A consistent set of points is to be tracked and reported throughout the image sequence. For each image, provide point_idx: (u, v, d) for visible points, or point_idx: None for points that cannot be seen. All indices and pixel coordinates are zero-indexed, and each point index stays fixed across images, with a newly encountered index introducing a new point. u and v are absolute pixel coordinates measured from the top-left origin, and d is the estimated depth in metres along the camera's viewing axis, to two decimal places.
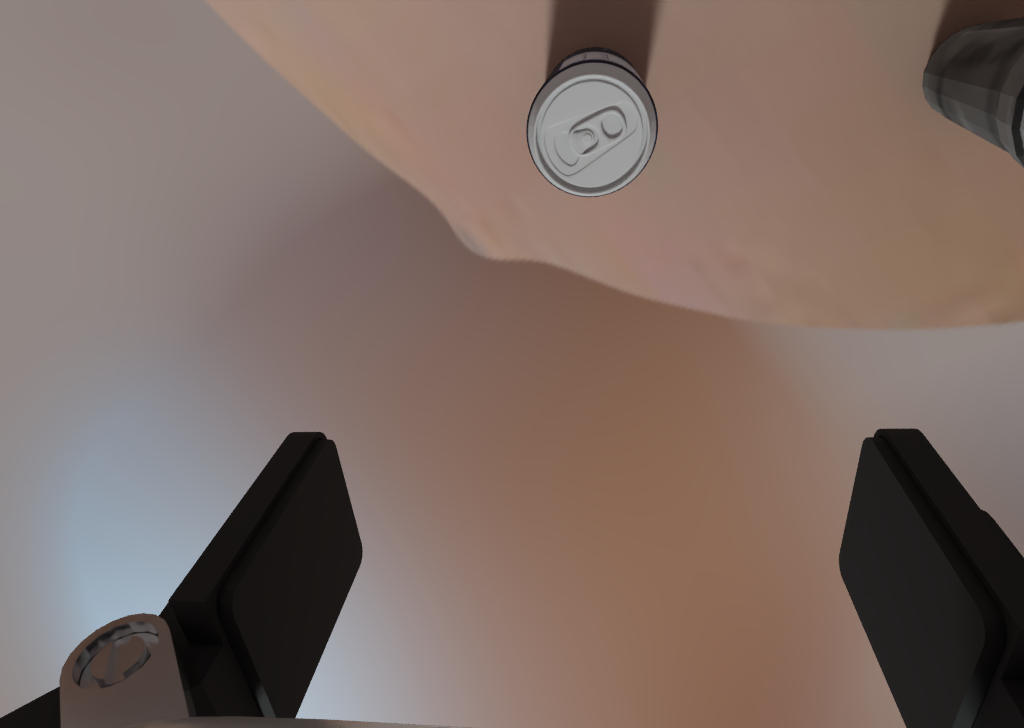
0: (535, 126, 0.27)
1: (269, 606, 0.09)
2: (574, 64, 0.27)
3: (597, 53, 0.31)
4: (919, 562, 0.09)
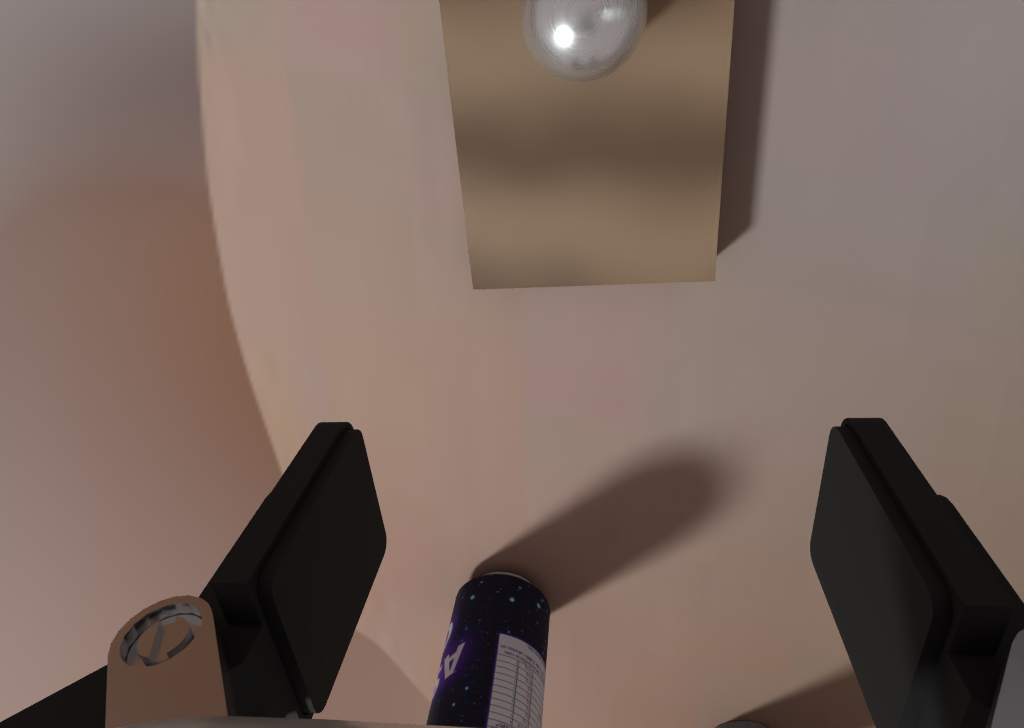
0: None
1: (304, 590, 0.09)
2: None
3: (527, 668, 0.33)
4: (878, 545, 0.09)
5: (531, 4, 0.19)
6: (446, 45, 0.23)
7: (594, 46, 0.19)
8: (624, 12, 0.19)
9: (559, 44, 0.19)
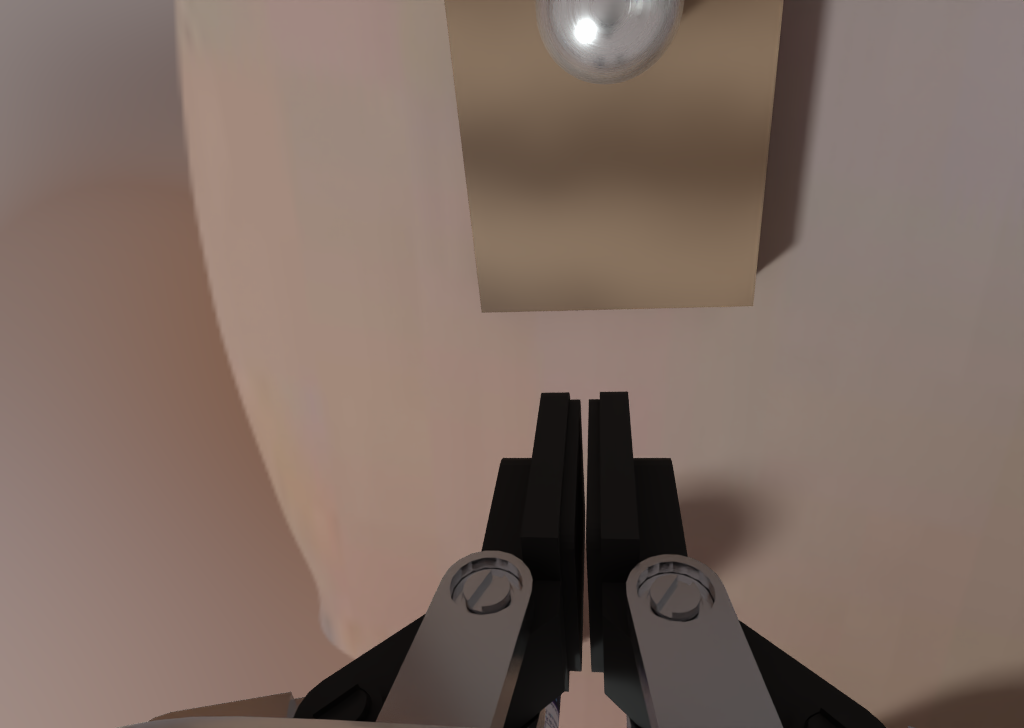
0: None
1: (577, 549, 0.10)
2: None
3: None
4: None
5: None
6: (451, 41, 0.20)
7: (621, 43, 0.16)
8: (658, 2, 0.16)
9: (580, 40, 0.17)
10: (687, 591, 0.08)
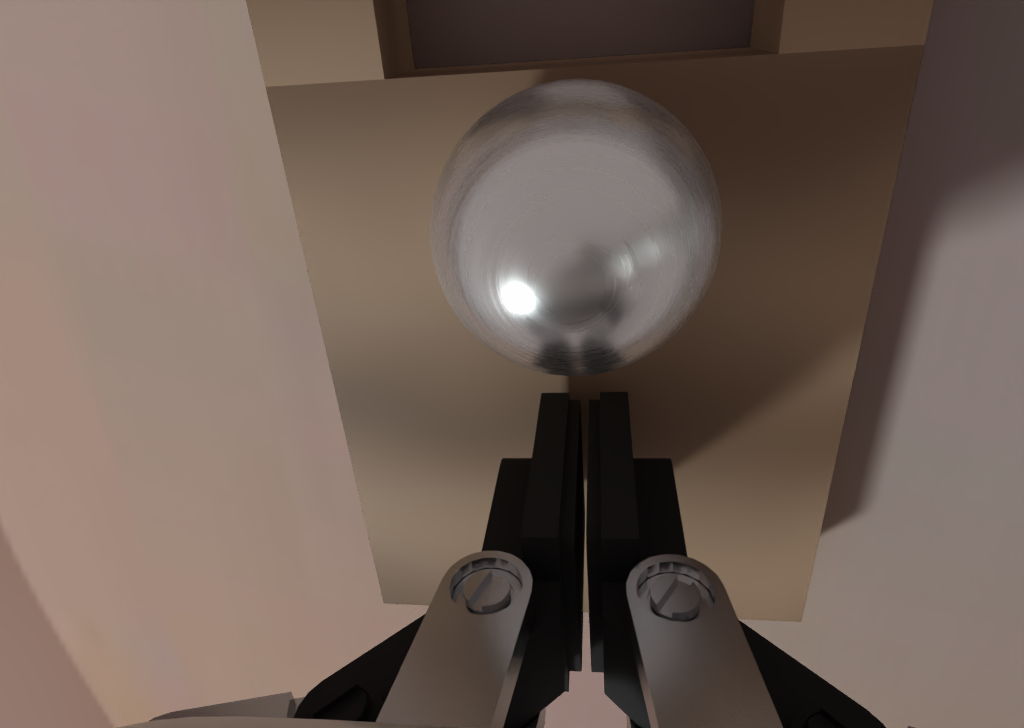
0: None
1: (577, 549, 0.10)
2: None
3: None
4: None
5: (446, 238, 0.08)
6: (304, 241, 0.12)
7: (596, 346, 0.08)
8: (673, 275, 0.08)
9: (513, 335, 0.08)
10: (687, 591, 0.08)
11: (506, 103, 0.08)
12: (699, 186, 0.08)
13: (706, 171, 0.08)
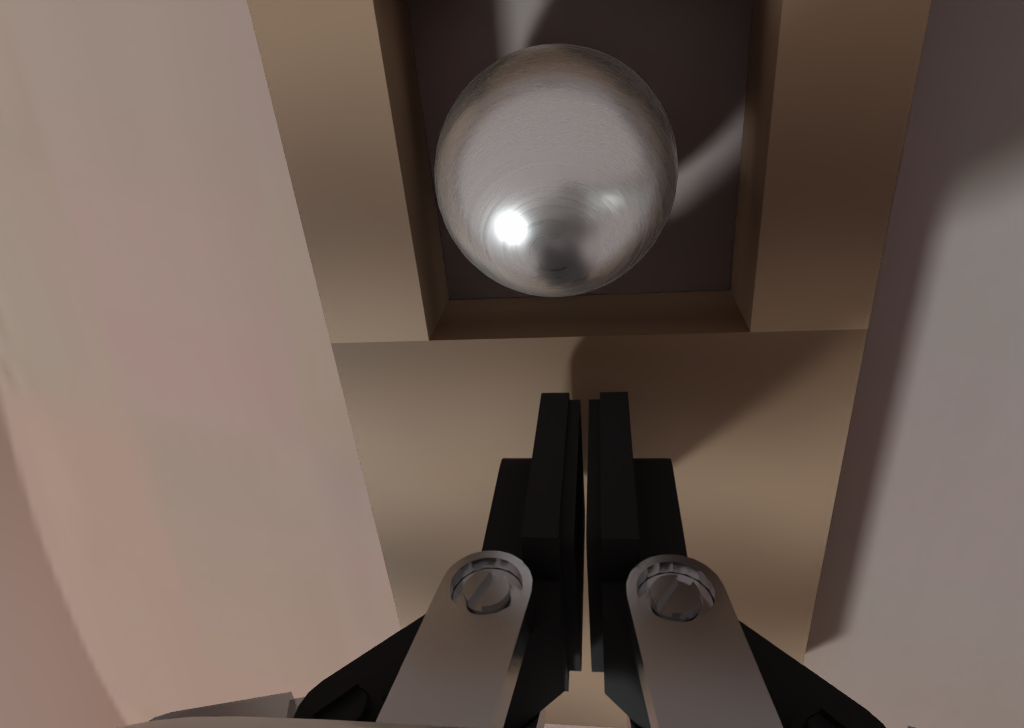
0: None
1: (577, 549, 0.10)
2: None
3: None
4: None
5: None
6: (360, 449, 0.14)
7: None
8: None
9: None
10: (687, 591, 0.08)
11: None
12: None
13: None
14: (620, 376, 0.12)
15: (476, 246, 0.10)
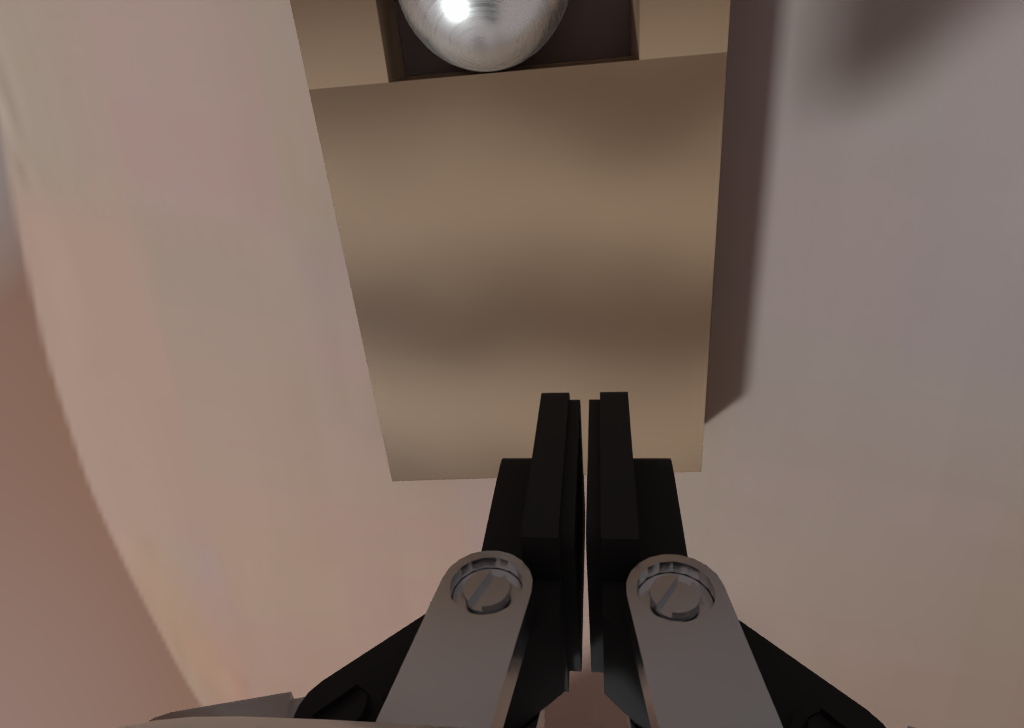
0: None
1: (577, 549, 0.10)
2: None
3: None
4: None
5: None
6: (334, 196, 0.17)
7: None
8: None
9: None
10: (687, 591, 0.08)
11: None
12: None
13: None
14: (542, 108, 0.16)
15: (430, 42, 0.14)
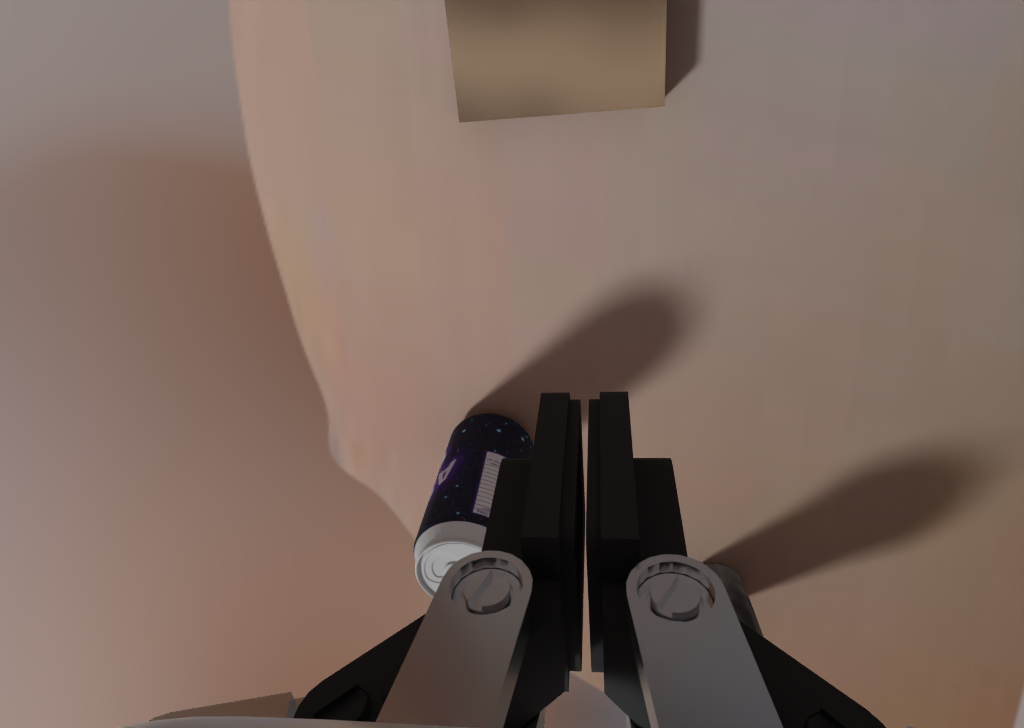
0: (430, 548, 0.33)
1: (577, 549, 0.10)
2: (484, 523, 0.33)
3: None
4: None
5: None
6: None
7: None
8: None
9: None
10: (687, 591, 0.08)
11: None
12: None
13: None
14: None
15: None
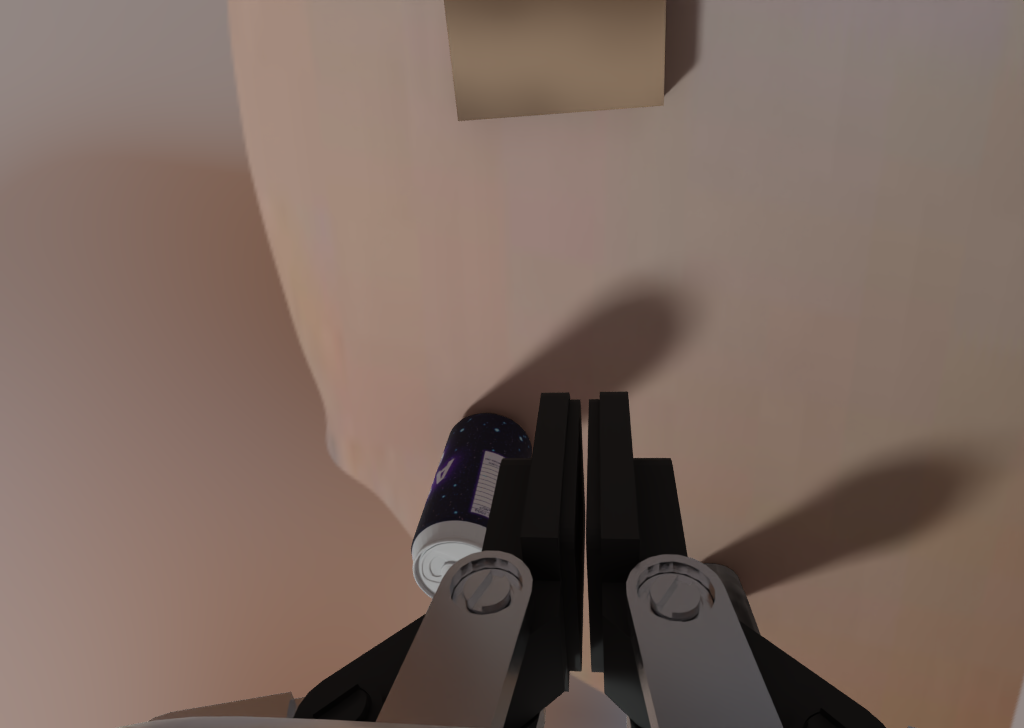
0: (427, 547, 0.33)
1: (577, 549, 0.10)
2: (482, 523, 0.33)
3: None
4: None
5: None
6: None
7: None
8: None
9: None
10: (687, 591, 0.08)
11: None
12: None
13: None
14: None
15: None
